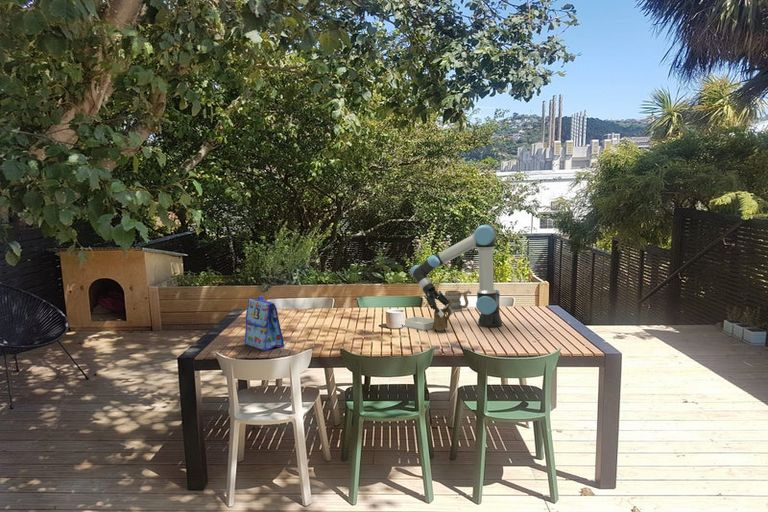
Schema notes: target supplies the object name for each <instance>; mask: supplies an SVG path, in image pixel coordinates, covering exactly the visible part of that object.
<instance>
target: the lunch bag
mask: <svg viewBox="0 0 768 512" xmlns="http://www.w3.org/2000/svg"><path fill="white" fill-rule="evenodd" d="M244 330H245V332H244V334H245V335H244V345H247V346H250V347H253V348H255V349H258V350H261V351H264V352H267V351H269V350H271V349H273V348H275V347H277V348H284V347H285V343H284V336H283V332H282V329H281V324H280V320H279V313H278V308H277V306H276V304H275V303H274V302H271V301H269V300H265V298H264V295H258V296H257V299H256V298H248V299H247V307H246V313H245V329H244Z"/></svg>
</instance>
